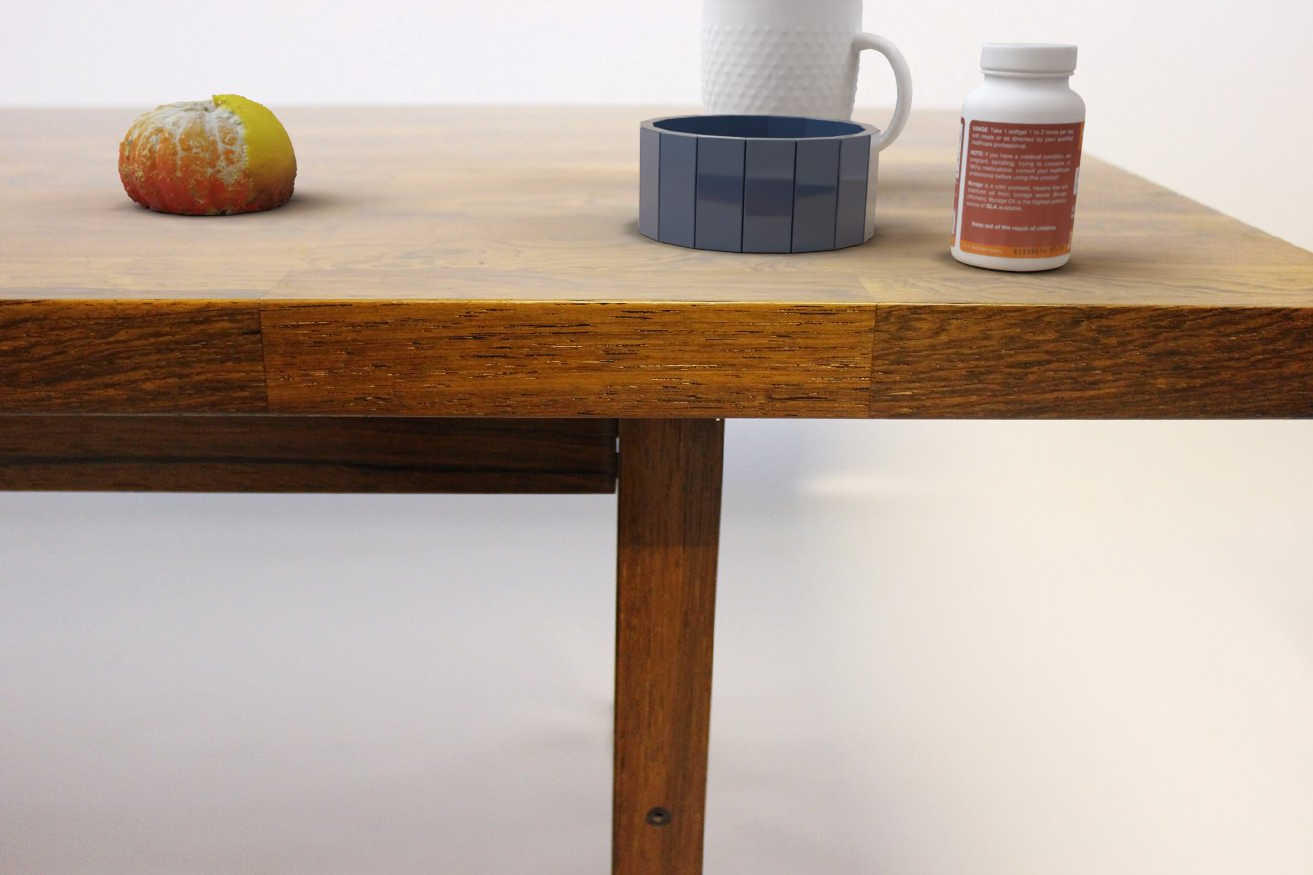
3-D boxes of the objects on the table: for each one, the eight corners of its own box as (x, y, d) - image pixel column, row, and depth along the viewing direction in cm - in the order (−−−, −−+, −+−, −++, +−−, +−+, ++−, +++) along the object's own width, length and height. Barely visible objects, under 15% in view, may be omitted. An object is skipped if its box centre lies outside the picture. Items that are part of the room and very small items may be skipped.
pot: (893, 220, 83) (900, 121, 81) (840, 261, 71) (847, 145, 69) (684, 204, 88) (686, 109, 86) (602, 240, 76) (602, 131, 74)
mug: (920, 183, 98) (935, -6, 94) (885, 205, 88) (900, -5, 84) (726, 169, 103) (732, -11, 99) (673, 189, 94) (677, -10, 89)
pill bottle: (1092, 271, 70) (1119, 47, 66) (984, 276, 68) (1006, 47, 64) (1030, 248, 75) (1052, 41, 72) (929, 252, 74) (946, 40, 70)
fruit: (135, 182, 90) (160, 63, 88) (293, 228, 92) (321, 112, 90) (86, 206, 79) (113, 71, 77) (265, 257, 81) (296, 127, 79)
